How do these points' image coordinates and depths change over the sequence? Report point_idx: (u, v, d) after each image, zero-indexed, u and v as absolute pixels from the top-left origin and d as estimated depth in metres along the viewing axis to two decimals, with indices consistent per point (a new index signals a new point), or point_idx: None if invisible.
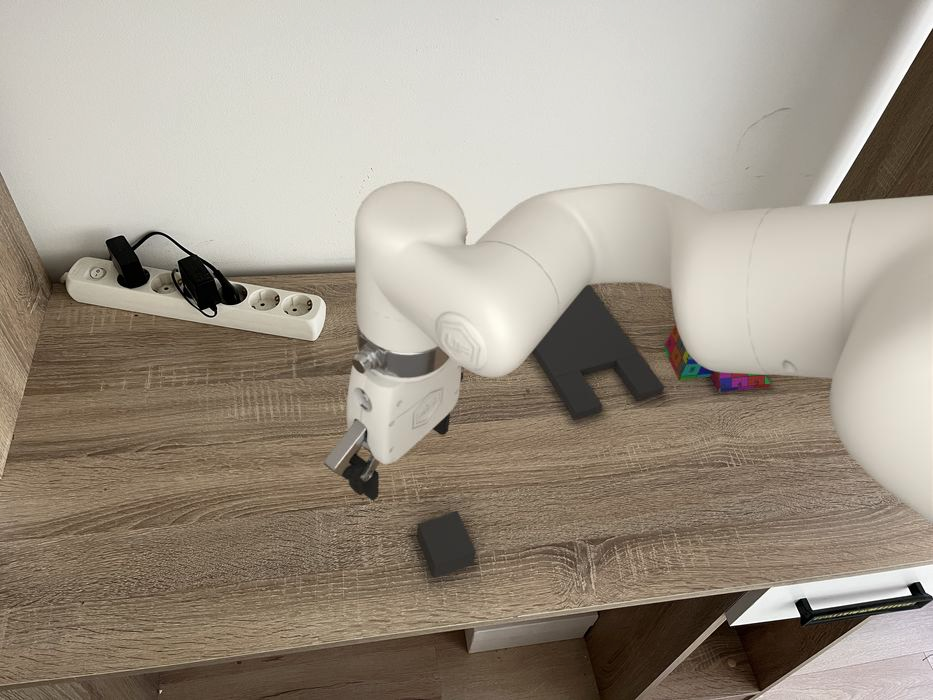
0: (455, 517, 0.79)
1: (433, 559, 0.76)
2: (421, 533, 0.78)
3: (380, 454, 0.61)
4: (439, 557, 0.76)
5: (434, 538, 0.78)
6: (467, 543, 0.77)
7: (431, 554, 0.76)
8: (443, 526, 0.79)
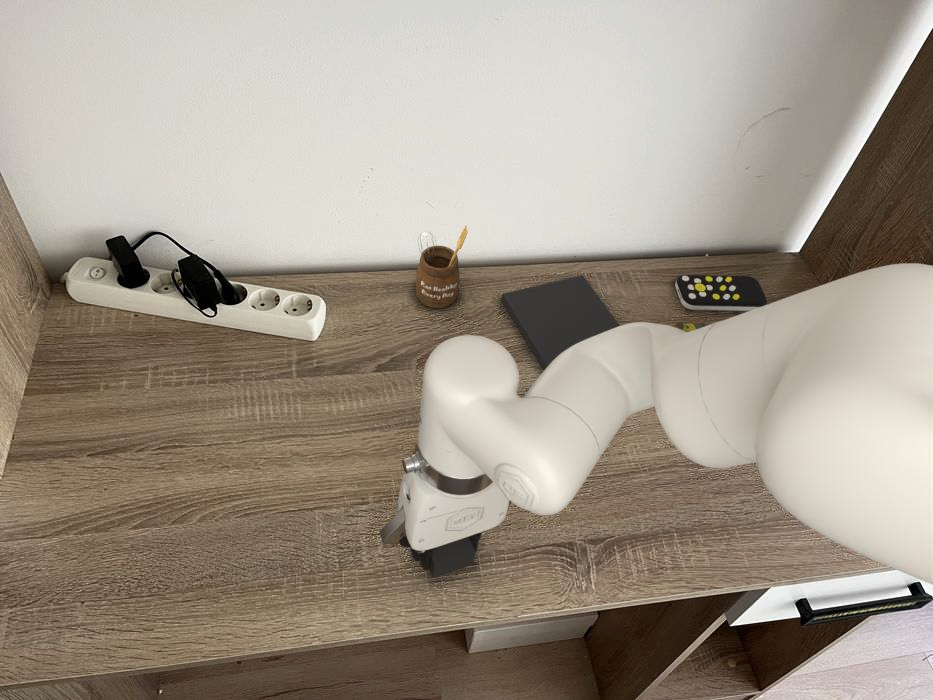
0: None
1: (433, 559, 0.76)
2: None
3: (410, 540, 0.70)
4: (439, 557, 0.76)
5: None
6: (467, 543, 0.77)
7: None
8: None
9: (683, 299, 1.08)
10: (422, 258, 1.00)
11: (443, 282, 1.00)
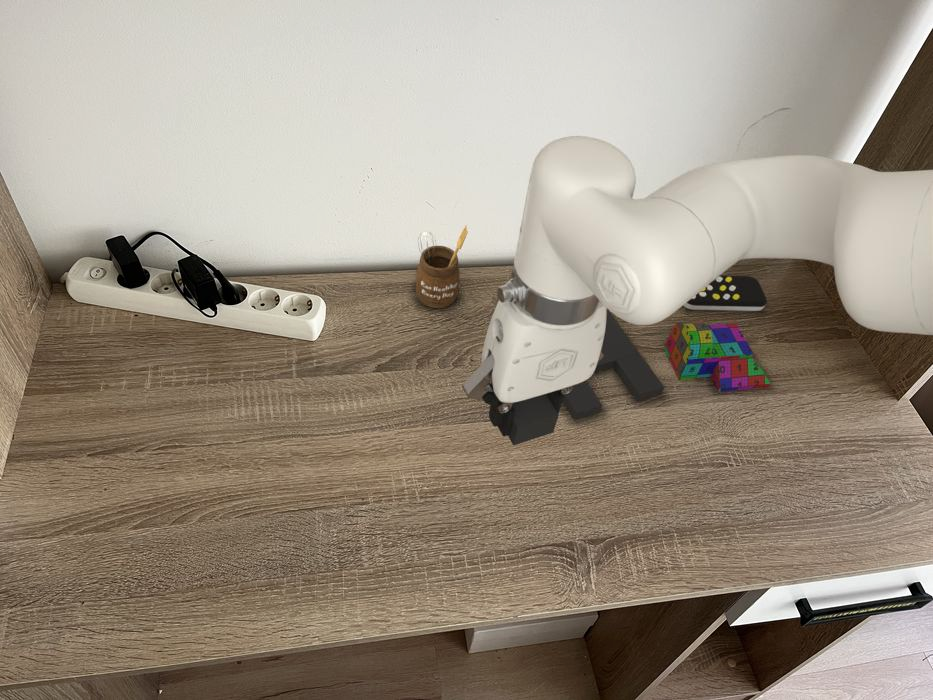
0: None
1: (515, 422, 0.71)
2: None
3: (499, 389, 0.65)
4: (521, 420, 0.71)
5: (514, 402, 0.73)
6: (549, 407, 0.73)
7: None
8: None
9: None
10: (422, 258, 1.00)
11: (443, 282, 1.00)
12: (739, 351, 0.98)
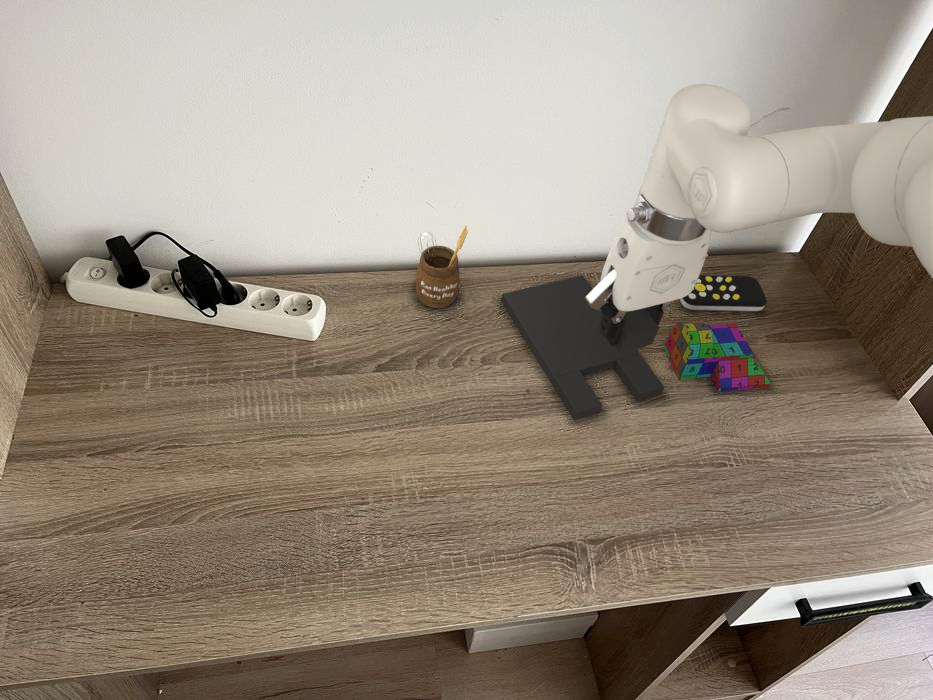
0: None
1: (623, 331, 0.85)
2: None
3: (619, 298, 0.79)
4: (629, 330, 0.86)
5: None
6: (651, 321, 0.87)
7: None
8: None
9: (683, 299, 1.08)
10: (422, 258, 1.00)
11: (443, 282, 1.00)
12: (739, 351, 0.98)
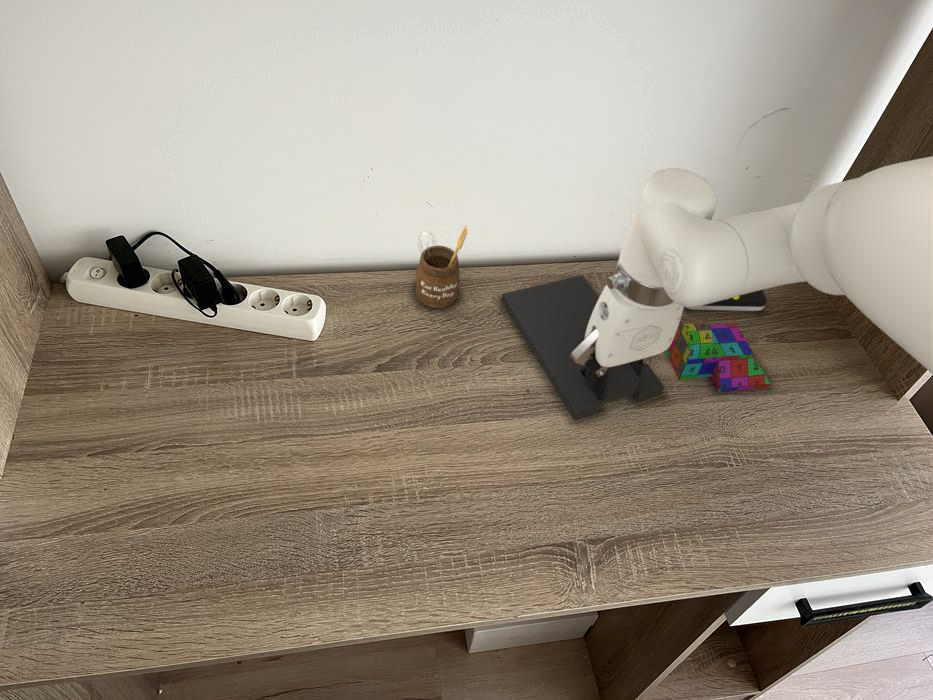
0: None
1: (607, 383, 0.92)
2: None
3: (601, 356, 0.86)
4: (612, 382, 0.92)
5: None
6: (632, 373, 0.94)
7: None
8: None
9: None
10: (422, 258, 1.00)
11: (443, 282, 1.00)
12: (739, 351, 0.98)
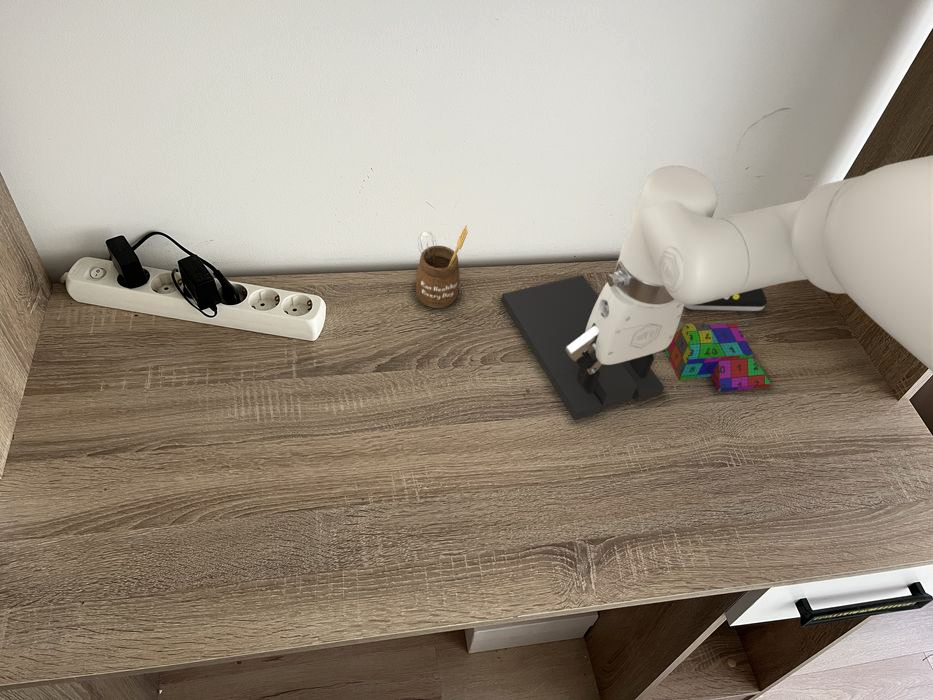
0: None
1: (604, 389, 0.93)
2: None
3: (601, 353, 0.86)
4: (609, 388, 0.93)
5: (602, 375, 0.95)
6: (629, 379, 0.95)
7: (602, 386, 0.93)
8: (608, 367, 0.96)
9: None
10: (422, 258, 1.00)
11: (443, 282, 1.00)
12: (739, 351, 0.98)
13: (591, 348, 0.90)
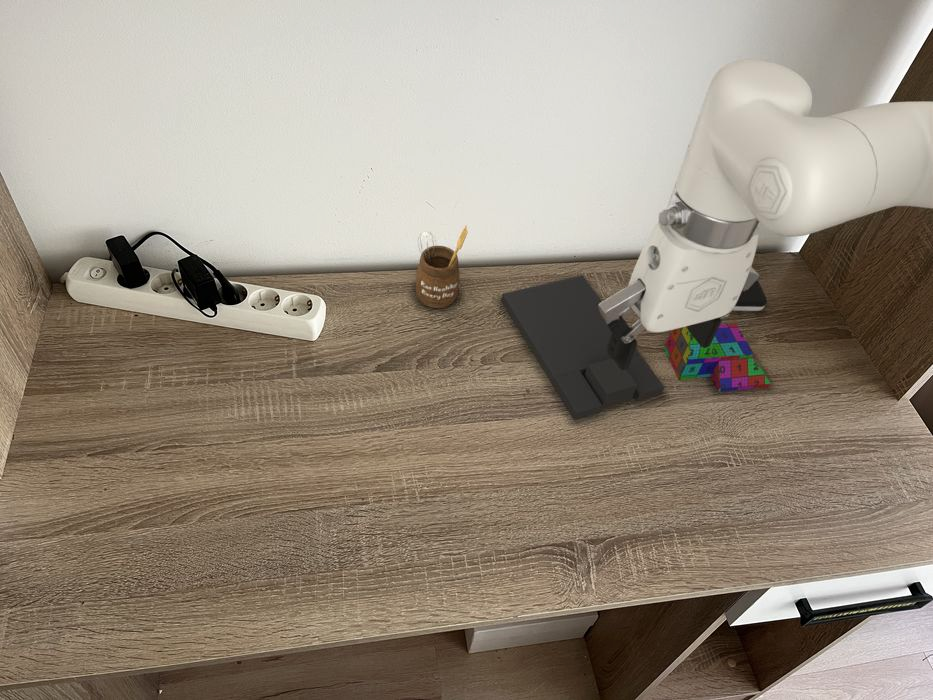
0: None
1: (604, 389, 0.93)
2: (591, 372, 0.95)
3: (648, 317, 0.67)
4: (609, 388, 0.93)
5: (602, 375, 0.95)
6: (629, 379, 0.95)
7: (602, 386, 0.93)
8: (608, 367, 0.96)
9: None
10: (422, 258, 1.00)
11: (443, 282, 1.00)
12: (739, 351, 0.98)
13: (629, 311, 0.71)
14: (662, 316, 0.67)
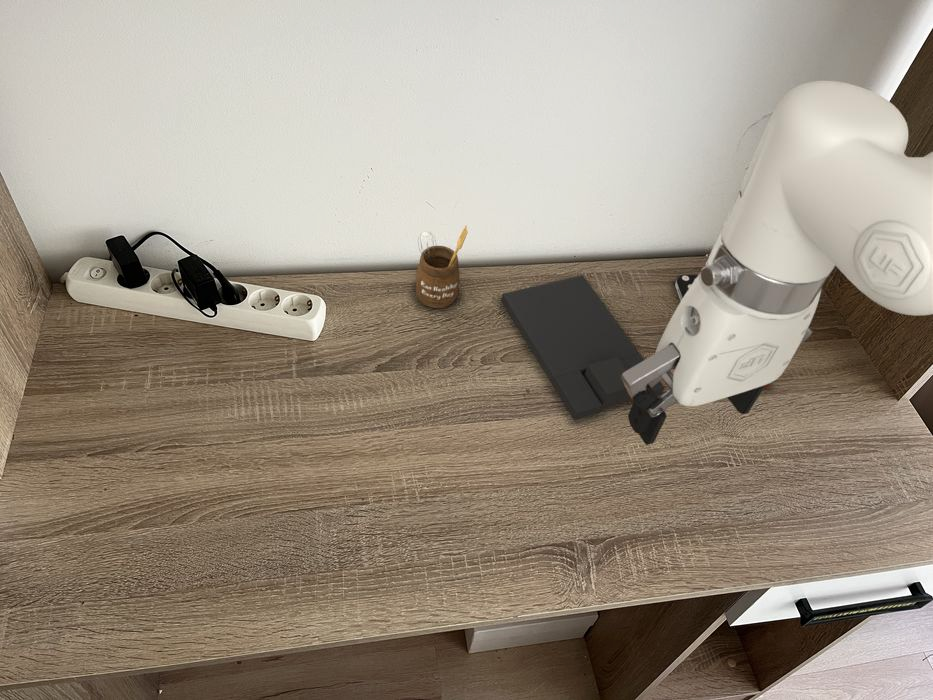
0: (617, 361, 0.96)
1: (604, 389, 0.93)
2: (591, 372, 0.95)
3: (682, 390, 0.55)
4: (609, 388, 0.93)
5: (602, 375, 0.95)
6: None
7: (602, 386, 0.93)
8: (608, 367, 0.96)
9: None
10: (422, 258, 1.00)
11: (443, 282, 1.00)
12: None
13: (656, 377, 0.59)
14: (700, 389, 0.55)
